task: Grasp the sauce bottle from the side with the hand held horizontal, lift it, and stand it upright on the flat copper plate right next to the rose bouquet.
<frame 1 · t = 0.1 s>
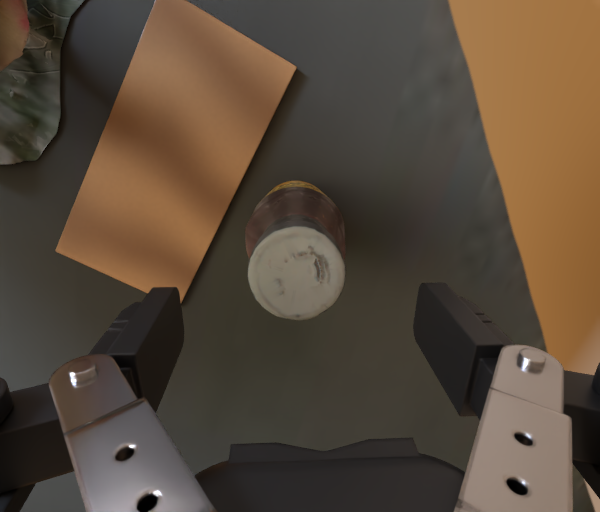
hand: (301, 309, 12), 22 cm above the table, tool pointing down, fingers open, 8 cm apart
sauce bottle: (293, 213, 34), on the table
flat copper plate: (172, 162, 32), on the table
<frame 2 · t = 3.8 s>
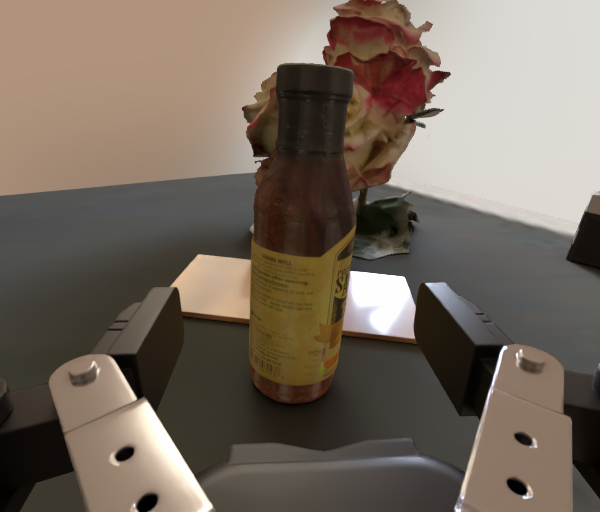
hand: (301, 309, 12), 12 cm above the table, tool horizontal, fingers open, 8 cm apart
rose bouquet: (327, 231, 56), on the table
sauce bottle: (291, 376, 27), on the table
flat copper plate: (294, 294, 37), on the table
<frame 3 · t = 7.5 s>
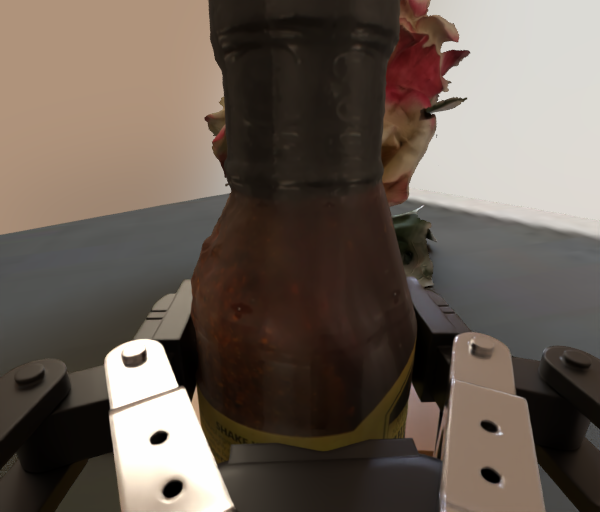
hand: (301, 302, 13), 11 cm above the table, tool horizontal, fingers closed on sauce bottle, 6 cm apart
rose bouquet: (325, 263, 44), on the table
flat copper plate: (291, 376, 25), on the table
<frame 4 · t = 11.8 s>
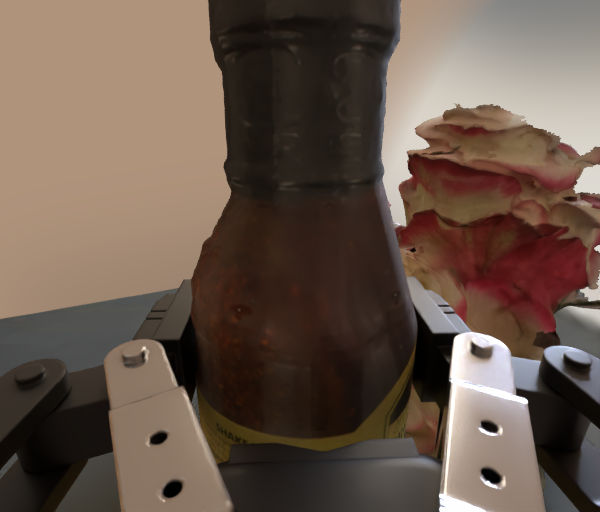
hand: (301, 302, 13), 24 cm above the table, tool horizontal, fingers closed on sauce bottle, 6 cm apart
rose bouquet: (405, 420, 38), on the table
when the fingers open (12 cm above the table, at t = 16.1 s): sauce bottle stays where it is, resting on flat copper plate.
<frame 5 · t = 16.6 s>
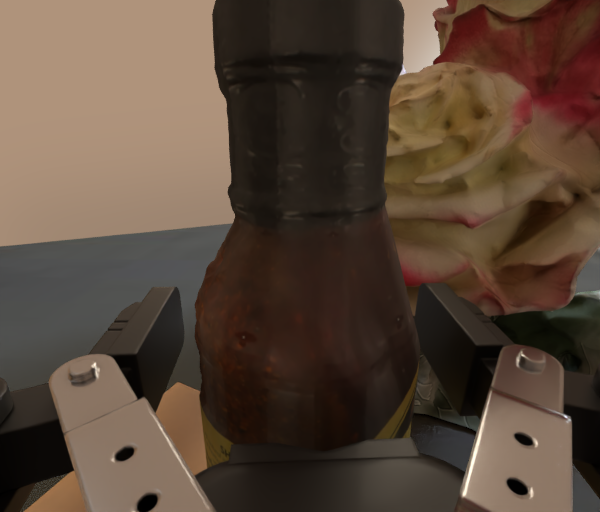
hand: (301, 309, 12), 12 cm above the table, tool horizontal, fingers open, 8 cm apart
rose bouquet: (431, 340, 32), on the table
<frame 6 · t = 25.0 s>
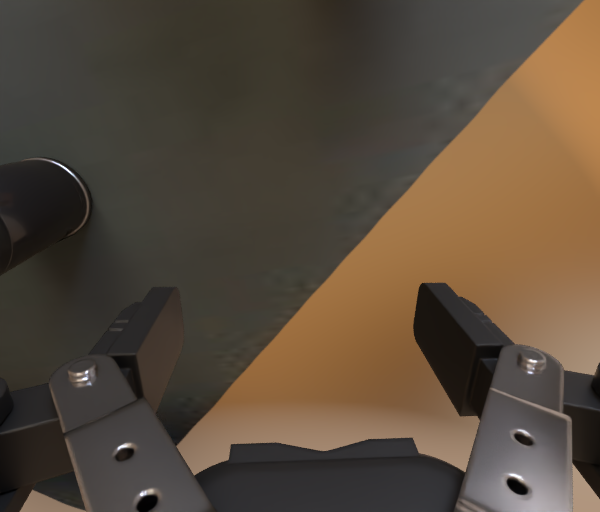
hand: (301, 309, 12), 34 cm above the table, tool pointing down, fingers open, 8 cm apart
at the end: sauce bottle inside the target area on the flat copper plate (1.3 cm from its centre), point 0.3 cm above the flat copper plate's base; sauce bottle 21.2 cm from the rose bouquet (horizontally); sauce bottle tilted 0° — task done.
